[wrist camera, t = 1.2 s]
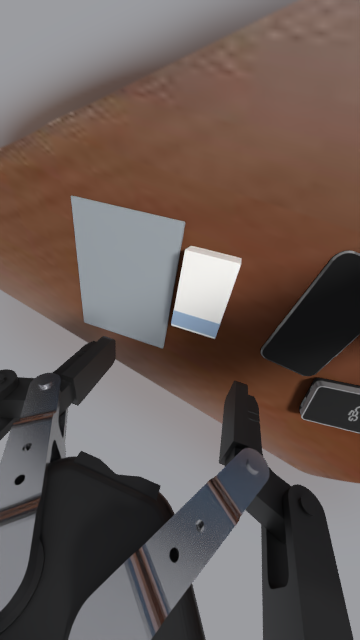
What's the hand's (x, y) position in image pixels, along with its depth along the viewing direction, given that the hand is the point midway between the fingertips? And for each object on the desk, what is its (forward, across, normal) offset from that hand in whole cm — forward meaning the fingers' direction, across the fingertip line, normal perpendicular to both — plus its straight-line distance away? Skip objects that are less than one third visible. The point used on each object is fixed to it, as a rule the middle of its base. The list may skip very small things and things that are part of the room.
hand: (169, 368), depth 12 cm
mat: (+14, +11, +2) cm, 18 cm away
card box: (+14, 0, 0) cm, 14 cm away
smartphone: (+15, -14, 0) cm, 20 cm away
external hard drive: (+15, -23, +10) cm, 29 cm away
